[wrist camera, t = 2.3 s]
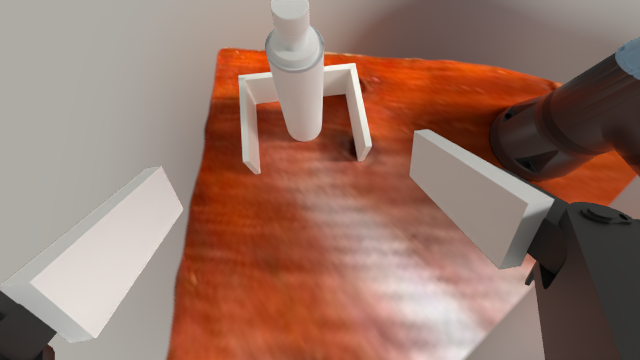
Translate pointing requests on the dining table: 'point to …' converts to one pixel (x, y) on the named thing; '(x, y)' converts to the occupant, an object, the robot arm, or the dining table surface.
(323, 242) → the dining table surface
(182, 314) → the dining table surface
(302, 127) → the white bottle
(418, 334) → the dining table surface
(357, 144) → the storage bay
